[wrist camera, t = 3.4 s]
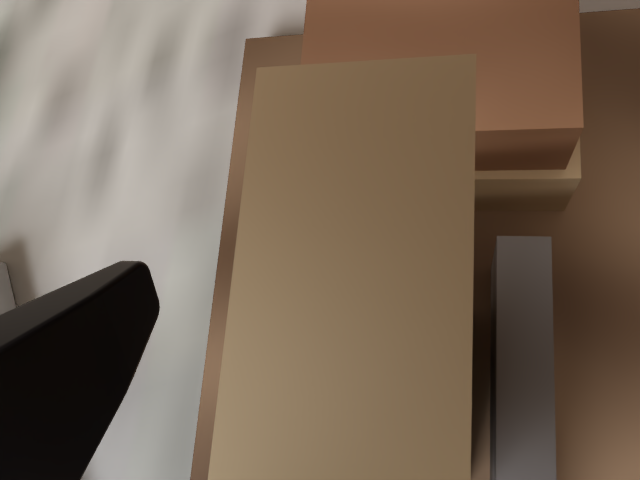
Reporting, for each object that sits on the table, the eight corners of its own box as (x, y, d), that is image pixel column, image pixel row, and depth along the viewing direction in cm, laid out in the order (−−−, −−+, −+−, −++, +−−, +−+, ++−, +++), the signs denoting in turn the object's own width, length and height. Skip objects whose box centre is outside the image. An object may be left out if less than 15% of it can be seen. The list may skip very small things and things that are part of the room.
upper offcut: (565, 169, 12) (584, 127, 10) (317, 173, 13) (293, 136, 12) (561, 20, 13) (576, -44, 11) (328, 38, 14) (308, -17, 12)
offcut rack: (726, 664, 12) (846, 785, 8) (195, 571, 15) (104, 628, 11) (673, 28, 16) (739, -90, 12) (257, 57, 19) (204, -30, 15)
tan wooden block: (466, 484, 13) (467, 809, 3) (400, 476, 13) (178, 732, 3) (469, 307, 14) (477, 53, 4) (407, 305, 14) (256, 67, 4)
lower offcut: (564, 210, 14) (581, 178, 12) (325, 210, 16) (304, 181, 14) (560, 64, 15) (575, 11, 13) (336, 77, 17) (318, 32, 14)
